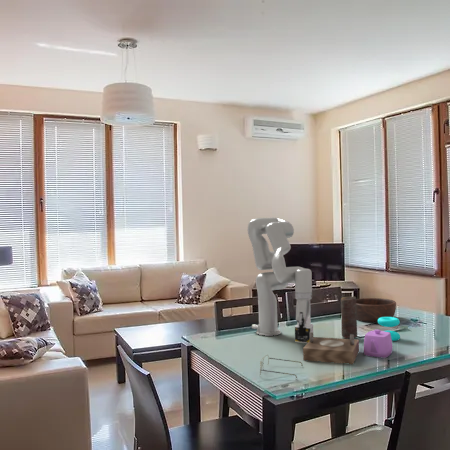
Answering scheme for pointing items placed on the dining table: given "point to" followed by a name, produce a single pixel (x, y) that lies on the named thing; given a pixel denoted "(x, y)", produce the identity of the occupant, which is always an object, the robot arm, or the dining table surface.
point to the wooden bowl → (374, 309)
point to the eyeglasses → (273, 371)
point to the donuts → (390, 323)
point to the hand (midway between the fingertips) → (304, 333)
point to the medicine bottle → (308, 329)
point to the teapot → (378, 343)
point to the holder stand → (331, 349)
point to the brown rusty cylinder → (348, 317)
